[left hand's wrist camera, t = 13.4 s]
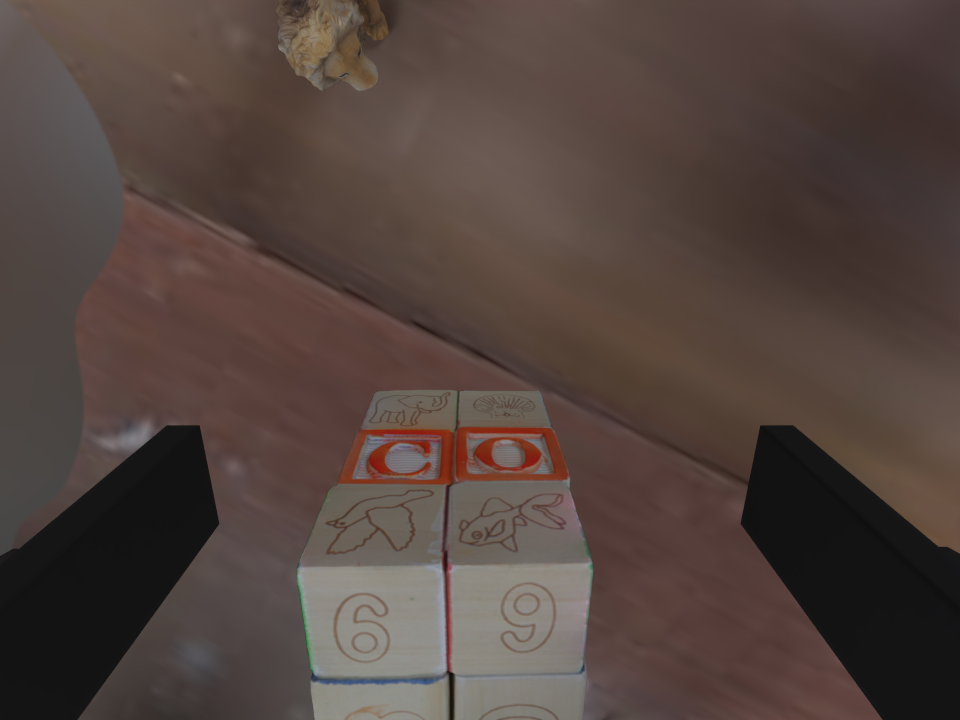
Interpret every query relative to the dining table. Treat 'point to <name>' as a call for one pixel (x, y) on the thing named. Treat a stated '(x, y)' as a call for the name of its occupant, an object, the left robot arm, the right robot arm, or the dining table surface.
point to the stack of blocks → (448, 566)
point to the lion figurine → (330, 39)
